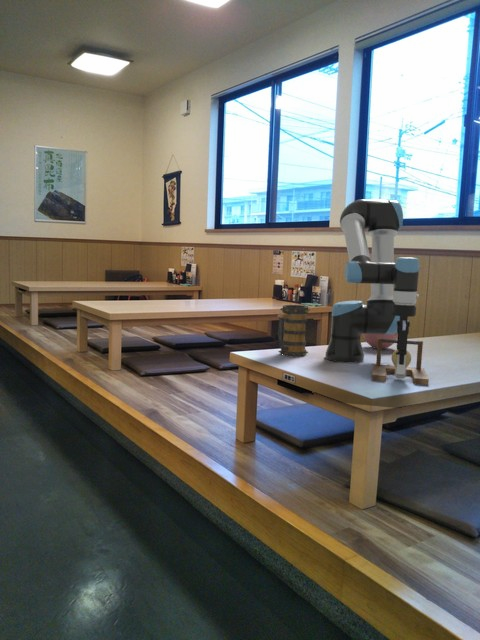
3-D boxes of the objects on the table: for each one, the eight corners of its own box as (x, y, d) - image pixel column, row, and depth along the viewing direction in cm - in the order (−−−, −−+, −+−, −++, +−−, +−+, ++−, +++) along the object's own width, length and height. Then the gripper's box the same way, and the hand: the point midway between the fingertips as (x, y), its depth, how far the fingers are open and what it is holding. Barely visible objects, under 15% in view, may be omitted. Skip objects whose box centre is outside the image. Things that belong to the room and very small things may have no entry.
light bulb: (387, 378, 184) (388, 349, 181) (395, 373, 188) (396, 345, 186) (405, 381, 180) (407, 352, 178) (412, 377, 184) (414, 348, 182)
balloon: (399, 354, 230) (402, 318, 228) (356, 348, 242) (358, 314, 240) (412, 350, 242) (414, 316, 240) (370, 344, 254) (372, 311, 252)
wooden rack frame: (372, 380, 182) (374, 345, 180) (372, 369, 199) (374, 337, 198) (428, 385, 178) (431, 349, 176) (423, 373, 195) (426, 340, 193)
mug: (315, 354, 224) (317, 306, 222) (289, 360, 212) (291, 309, 209) (290, 350, 233) (292, 304, 230) (264, 355, 221) (266, 306, 218)
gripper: (418, 307, 170) (413, 378, 173) (414, 302, 189) (409, 366, 192) (393, 305, 172) (389, 376, 175) (392, 301, 191) (387, 365, 193)
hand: (400, 371), depth 183 cm, fingers closed on light bulb, 6 cm apart
